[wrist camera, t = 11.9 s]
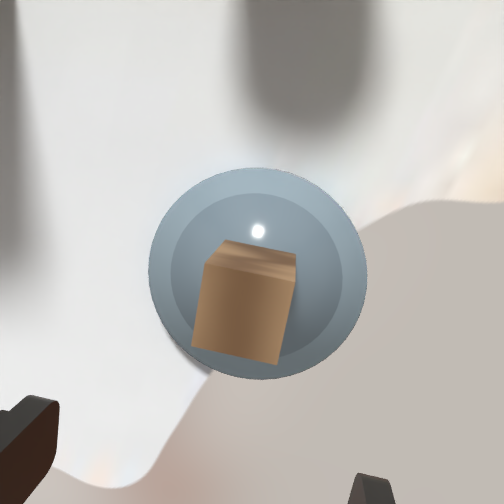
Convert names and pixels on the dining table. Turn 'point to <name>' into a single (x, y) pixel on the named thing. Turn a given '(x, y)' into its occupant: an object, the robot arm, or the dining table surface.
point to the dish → (268, 236)
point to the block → (245, 301)
